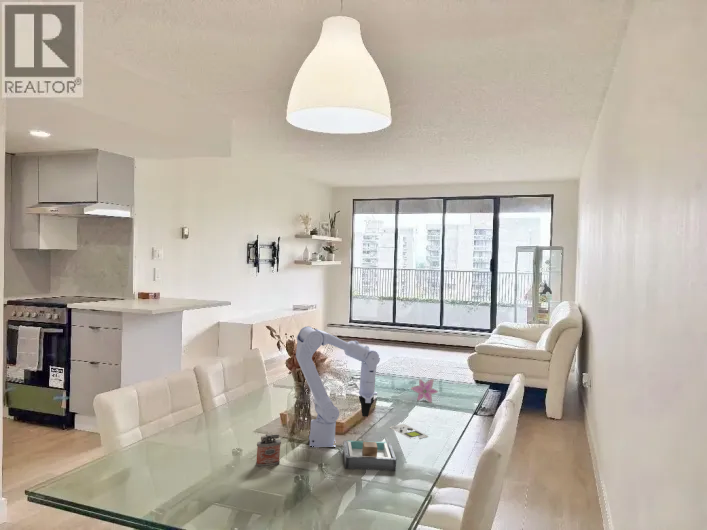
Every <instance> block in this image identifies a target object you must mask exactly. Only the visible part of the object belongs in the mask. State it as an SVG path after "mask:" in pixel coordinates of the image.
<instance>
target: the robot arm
mask: <svg viewBox="0 0 707 530" xmlns="http://www.w3.org/2000/svg"><path fill="white" fill-rule="evenodd" d="M326 345H330V346H333V347H335V348H338V349H341V350H343V351H344V354H345V355H346V356H348V357H350V358H352V359H355V360H357V361H359V362H361V363H360V364H361V366H360V379H359V389H358V399H359V403H360V408H361V416H362V417H365V418H366V417H368V416H369V415H370V411H371V407H372V405H373V404H374V402H375V397H374V396H378V392H377V391H375V389H376V388H375V387H376V386H375V385H376V375H377V374H376V373H377V367H378V366H377V365H378V364H379V363H380V360H381V358H380V355H379V352H377V351H376V350H374V349H372V348H370V347H369V346H368V345H365V346H364V345H363V344H360V342H359V341H358V340H349V341H345V340H343V339H341V338H339V337H337V336H335V335H334V334H331V333H330V332H327V331H324V330H321V329H319V328H313V327H311V326H303V327H302V328H301V329H300V330H299V332H298V333H297V335H296V351H295V358H296V360H297V363H298V366H299V367H300V370H301V372H302V374H303V376H304V379H305V381H306V383H307V385H308V388H309V390H310V392H311V393H312V397H313V403H314V411H315V413H316V414H317V415H316V418H315V419H311V420H310V432H309V433H310V434H308V440H309V447H310V446H312V447H311V448H319V447H333V446H334V447H337V446H336V445H333V444H334V441H335V442H336V424H337V420H338V418H339V417H340V411H339V410H340V409H338V407H337V406H335V405H334V403H333V401H332V400H331V398H330V396H329V395H328V393H327V390H326V388H325V386H324V384H323V381H322V379H321V376H320V374H319V372H318V369H317V367H316V365H315V362H314V361H313V359H312V358H313V356H314V354H315V353H316V352H317V351H318V349H319V348H320V347H321V346H326ZM368 418H369V417H368ZM313 446H314V447H313Z"/></svg>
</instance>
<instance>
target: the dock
mask: <svg viewBox="0 0 707 530" xmlns="http://www.w3.org/2000/svg"><path fill="white" fill-rule="evenodd" d="M347 443H348V440H343V449H342V450H343V451H342V452H344V453H343V460H344V467H345V468H344V469H345V470H363V471H365V470H367V471H368V470H370V471H387V472H388V471H389V472H391V471H393V472H394V471H395V472H396V471H397V470H396V469H397V457H396V454H395V452H394V448H393V446H392V442H387V446H388V449H389V452H390V455H391V458H378V457H354V456H349V453H348V446H347Z"/></svg>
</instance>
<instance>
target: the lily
mask: <svg viewBox="0 0 707 530" xmlns="http://www.w3.org/2000/svg"><path fill="white" fill-rule="evenodd" d="M434 380H435V379H434V378H431V379H428V380H427V381H426V382H424V380H422V379H421V378H418V384H419V385H414V386H412V387H410V390H411V391H414V392H415V393H417V397H416V401H417V402H419V401H420V400H422V399H425V401H427V402H428V403H430V404H431V403H432V402H433V396H432V395H434V394H438V393H439V391H438V390H437V389H435V388H433V387H434V386H433V385H434V382H435V381H434Z"/></svg>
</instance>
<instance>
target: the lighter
mask: <svg viewBox="0 0 707 530" xmlns="http://www.w3.org/2000/svg"><path fill="white" fill-rule="evenodd" d="M281 444H282V440H280V433H272V434H270V433H266V434H265V435H261V436H260V441H257V443H256V446H257V449H256V450H257V451H256V461H255V467H256V468H267V467H273V466H278V465H280V463H281V462H280V456H281V454H280V453H281Z"/></svg>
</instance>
